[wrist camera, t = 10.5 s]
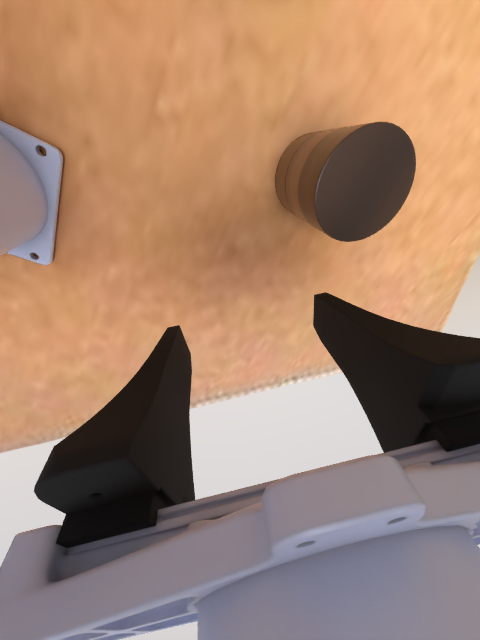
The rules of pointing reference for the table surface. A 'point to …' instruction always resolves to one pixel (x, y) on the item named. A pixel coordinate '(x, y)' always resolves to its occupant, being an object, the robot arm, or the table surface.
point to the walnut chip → (357, 180)
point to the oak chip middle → (297, 166)
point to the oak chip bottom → (283, 168)
